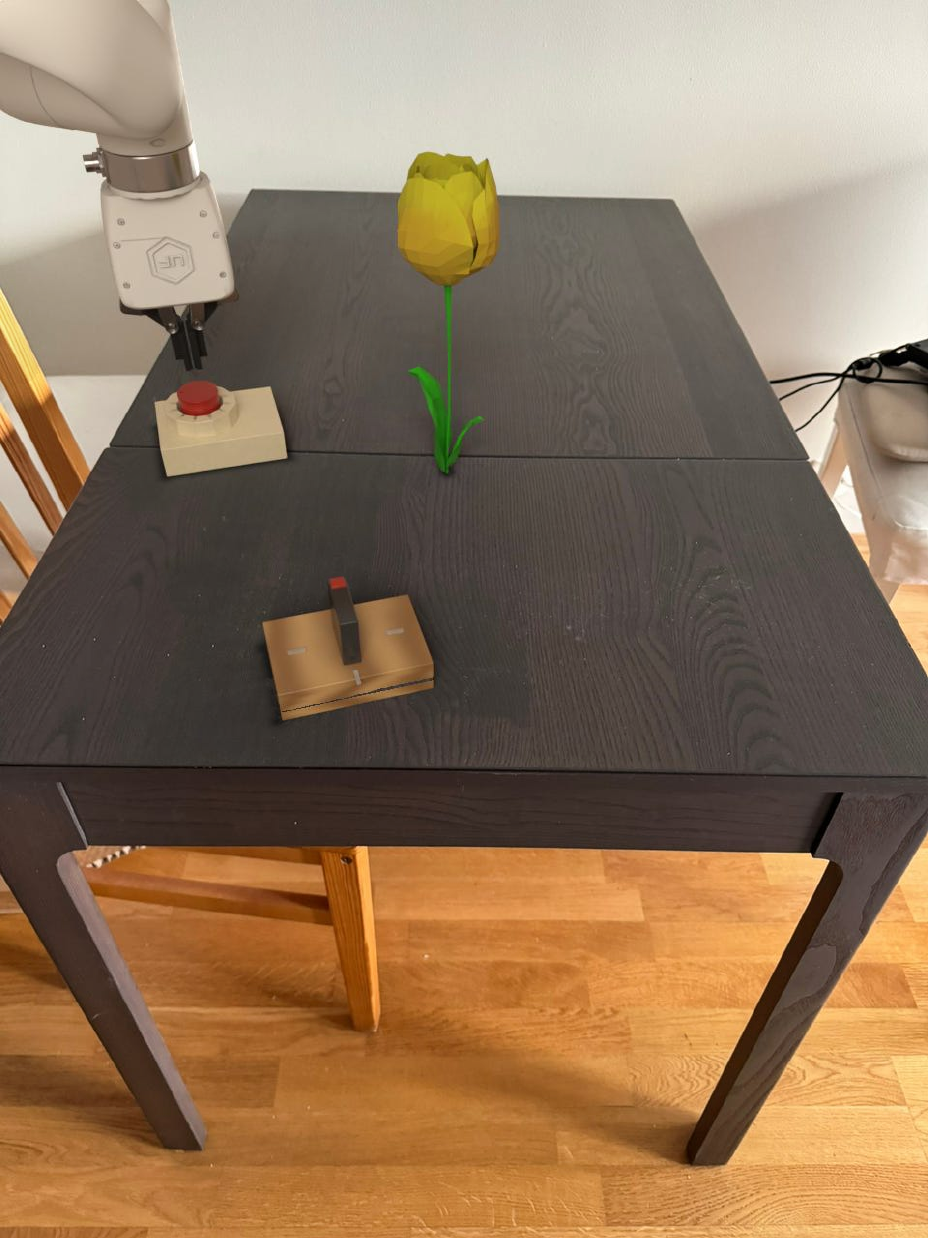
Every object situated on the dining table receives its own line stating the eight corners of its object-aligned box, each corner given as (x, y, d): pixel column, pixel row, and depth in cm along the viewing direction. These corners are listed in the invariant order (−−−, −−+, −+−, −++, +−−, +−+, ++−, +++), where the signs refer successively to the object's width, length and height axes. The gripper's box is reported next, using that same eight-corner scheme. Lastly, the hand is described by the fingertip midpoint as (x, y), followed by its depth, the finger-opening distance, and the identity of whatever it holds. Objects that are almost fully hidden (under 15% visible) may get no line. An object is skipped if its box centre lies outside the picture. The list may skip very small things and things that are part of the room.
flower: (491, 452, 97) (507, 144, 75) (484, 499, 91) (499, 180, 70) (409, 445, 97) (402, 137, 76) (397, 492, 91) (385, 173, 70)
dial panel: (283, 727, 70) (278, 700, 68) (265, 642, 77) (260, 615, 74) (436, 694, 73) (436, 667, 71) (406, 615, 79) (405, 587, 77)
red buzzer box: (167, 476, 92) (156, 434, 89) (160, 427, 98) (150, 386, 95) (287, 458, 95) (281, 416, 91) (273, 412, 101) (268, 370, 98)
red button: (181, 420, 91) (178, 404, 90) (178, 399, 94) (175, 383, 93) (223, 414, 92) (220, 398, 91) (218, 393, 95) (215, 378, 94)
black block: (361, 662, 71) (358, 618, 68) (343, 666, 71) (339, 622, 67) (348, 618, 74) (344, 574, 71) (331, 621, 74) (326, 577, 71)
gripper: (56, 189, 73) (114, 394, 86) (248, 172, 76) (276, 372, 89) (56, 156, 78) (111, 354, 91) (236, 141, 81) (264, 335, 94)
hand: (192, 362), depth 90 cm, fingers closed
